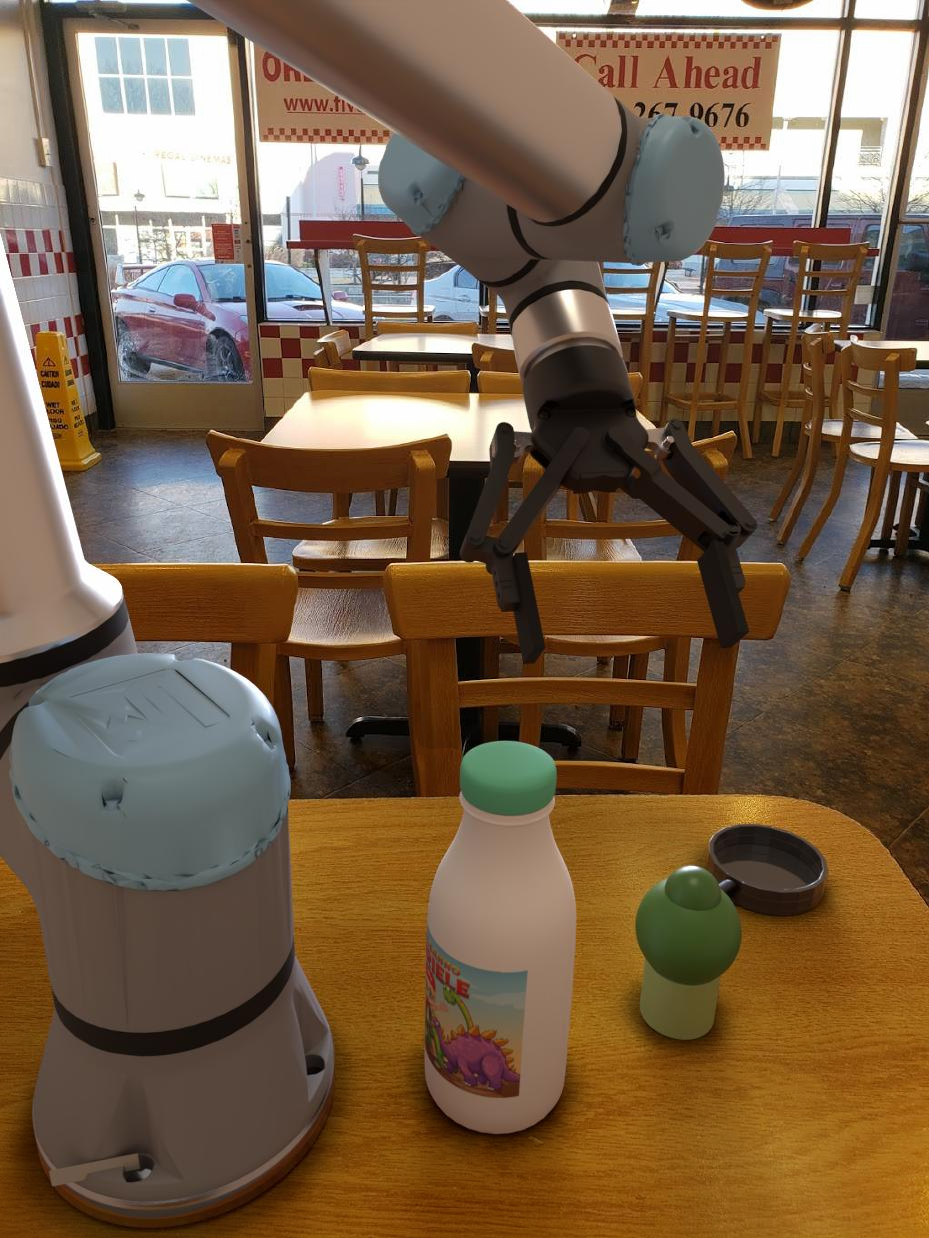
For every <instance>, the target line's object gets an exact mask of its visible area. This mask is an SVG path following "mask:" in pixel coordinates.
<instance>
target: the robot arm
mask: <svg viewBox="0 0 929 1238" xmlns="http://www.w3.org/2000/svg"><path fill="white" fill-rule="evenodd" d="M186 2H188V3H190V4H191V5H193V6H194V7H196V8H198V9H199V10H201V11H203V12H204V13H206V14H207V15H208V16H211V18H214V19H215V20H217V21H218V22H220V23H221V24H223V25H225V26H226V27H228V28H229V29H231V30H233V31H234V32H235V33H237V34H239V36H242V37H243V38H245V39H247V40H248V41H250V42H251V43H253V44H255V46H257V47H259V48H261V49H262V50H264V51H265V52H267V53H268V54H270V55H272V56H273V57H274V58H277V59H278V60H280V61H281V62H282V63H285V65H288V67H291V68H292V69H294V70H295V71H297V72H298V73H300V74H301V75H303V76H304V77H306V78H308V79H310V80H311V81H313V83H316V84H317V85H319V86H320V87H322V88H324V89H325V90H327V91H328V92H330V93H331V94H333V95H334V96H336V97H337V98H339V99H341V100H343V102H345V103H347V104H348V105H350V106H352V107H354V108H355V109H357V110H358V111H360V112H361V113H363V114H364V115H366V116H367V117H369V118H371V119H372V120H374V121H376V122H377V123H378V124H380V125H382V126H383V127H385V128H386V129H388V130H389V131H391V132H393V133H392V134H391V136H390V137H389V139H388V141H387V143H386V145H385V150H384V152H383V155H382V158H381V159H380V162H379V166H378V171H377V172H378V174H377V185H378V191H379V194H380V198H381V201H382V203H384V205H385V206H386V207H387V209H389V210H390V211H391V212H392V214H394V215H395V216H396V217H398V219H399V220H401V222H403V223H404V224H405V225H406V226H407V227H409V229H410V231H411V233H412V234H413V235H415V236H416V237H417V238H418V237H419V238H422V239H424V241H426V242H427V243H429V244H430V246H432V247H434V248H435V249H436V250H438V251H439V252H441V254H443V255H445V256H446V257H447V258H448V259H450V260H451V261H452V262H454V263H455V264H456V265H458V266H459V267H461V268H462V269H463V270H465V271H466V272H467V273H469V275H471V276H472V277H473V278H474V279H476V280H477V281H478V282H480V283H481V284H482V285H483V286H485V287H486V288H487V289H488V290H490V291H491V292H492V293H494V294H495V295H496V296H498V298H499V299H500V300H501V302H502V304H503V306H504V310H505V315H506V319H507V322H508V327H509V331H510V336H511V343H512V347H513V353H514V356H515V361H516V366H517V371H518V375H519V380H520V382H521V384H522V391H521V392H522V396H523V402H524V407H525V410H526V411H525V412H526V415H527V420H528V424H529V428H530V431H517V430H515V429H514V426H513V425H512V424H511V423H509V422H507V421H501V422H499V423H498V424H496V427H495V430H494V433H493V436H492V439H491V442H490V444H489V448H488V453H489V467H490V469H489V471H488V474H487V477H486V480H485V483H484V485H483V488H482V491H481V493H480V496H479V499H478V501H477V504H476V507H475V510H474V512H473V515H472V517H471V519H470V523H469V525H468V529H467V531H466V534H465V537H464V539H463V542H462V544H461V547H460V550H459V558H460V559H461V560H462V562H465V563H468V564H469V563H474V562H477V563H478V562H479V563H482V564H485V570H486V572H487V573H488V574H489V575H491V576H492V581H493V587H494V592H495V598H496V599H495V600H496V603H497V604H496V605H497V607H498V609H499V610H500V611H501V613H511V612H512V613H513V616H514V622H515V628H516V633H517V639H518V644H519V650H520V654H521V661H522V665H535V663H536V662H537V661H538V660H539V658H540V656H541V655H542V653H543V652H544V650H545V649H546V643H545V638H544V634H543V627H542V624H541V623H542V621H541V618H540V613H539V608H538V602H537V598H536V597H537V596H536V592H535V586H534V584H533V577H532V571H531V567H530V566H531V565H530V562H529V557H528V552H527V551H524V552H521V551H520V552H516V551H517V550H518V548H519V546H520V545H521V544H522V542H523V541H524V539H526V537H527V535H528V534H529V533H530V531H531V530H532V528H533V526H534V525H535V524H536V522H537V521H538V519H539V518H540V516H541V515H542V514H543V512H544V510H545V509H546V508H547V506H548V505H549V503H551V501H552V500H553V499H554V497H555V496H556V495H557V493H558V492H559V490H560V489H561V487H563V488H564V489H566V490H569V491H572V495H580V494H582V495H583V494H587V493H590V492H594V491H596V492H598V493H599V492H600V493H605V494H606V493H608V494H609V493H616V492H617V491H618V489H620V490H621V491H623V492H624V493H625V494H626V495H627V496H629V497H630V498H631V499H633V500H639V501H641V502H643V504H645V505H646V506H647V507H649V508H650V509H651V510H652V511H654V513H656V514H657V515H658V516H659V517H661V518H662V519H663V520H664V521H666V522H667V523H668V524H669V525H671V526H672V527H673V528H674V529H675V530H677V531H678V532H679V533H680V534H682V535H683V536H684V537H685V538H686V539H688V540H689V541H690V542H691V543H692V544H694V545H695V546H696V547H697V548H698V549H700V550H701V551H702V552H703V553H702V554H701V555H700V557H699V558H698V559H697V560H696V563H697V566H698V570H699V574H700V578H701V580H702V585H703V588H704V593H705V596H706V600H707V602H708V606H709V610H710V613H711V617H712V621H713V625H714V628H715V629H714V630H715V632H716V635H717V639H718V643H719V647H720V649H730V648H732V647H734V646H735V645H736V644H737V643H738V642H739V641H741V640H742V639H743V638H744V637H745V636H746V635H748V634H749V633H750V629H749V624H748V621H747V619H746V615H745V612H744V608H743V604H742V600H741V596H740V593H741V592H742V591H743V590H744V589H745V586H746V578H745V575H744V571H743V568H742V564H741V561H740V556H739V554H738V551H737V549H738V548H740V547H741V546H742V545H743V544H744V543H745V542H746V541H747V540H748V539H749V538H750V537H751V536H752V535H753V533H755V531H756V530H757V529H758V526H759V525H758V521H757V520H756V519H755V517H754V516H753V515H752V514H751V513H750V512H749V510H748V509H747V508H746V507H745V506H744V503H742V502H741V500H739V498H738V497H737V496H736V494H735V493H733V491H732V490H731V489H730V487H729V486H728V485H727V484H726V483H725V482H724V481H723V479H722V478H721V477H720V476H719V475H718V473H717V472H716V471H715V470H714V469H713V467H712V466H711V465H710V464H709V462H707V461H706V459H705V458H704V457H703V455H702V454H701V453H700V452H699V451H698V449H697V448H696V447H695V446H694V445H693V443H692V441H691V438H690V436H689V433H688V431H687V428H686V426H685V424H684V422H683V421H682V420H681V419H678V418H670V419H669V421H668V422H667V423H666V425H665V426H663V427H657V428H649V429H647V428H645V426H644V425H643V424H642V423H641V422H640V420H639V418H638V416H637V408H636V401H635V396H634V395H635V394H634V391H633V388H632V384H631V380H630V377H629V373H628V368H627V365H626V362H625V360H624V358H623V357H624V354H623V350H622V344H621V341H620V338H619V334H618V331H617V328H616V323H615V320H614V316H613V313H612V309H611V306H610V302H609V299H608V296H607V292H606V291H607V290H606V286H605V284H604V279H603V275H602V271H601V267H600V263H616V264H631V265H632V266H636V267H641V266H644V265H645V264H646V263H647V264H648V263H675V262H681V261H684V260H686V259H689V258H690V257H692V256H694V255H695V254H696V253H697V252H699V251H700V250H702V248H703V247H704V245H705V244H706V242H707V241H708V240H709V239H710V237H711V235H712V233H713V231H714V230H715V227H716V224H717V223H718V215H719V213H720V208H721V206H722V204H723V200H724V195H725V194H724V193H725V182H726V181H725V163H724V158H723V153H722V150H721V146H720V143H719V141H718V139H717V136H716V134H715V132H713V130H712V129H711V128H710V126H709V125H708V124H707V123H705V122H704V121H703V120H701V119H700V118H696V117H693V116H684V115H683V116H679V115H677V116H676V115H675V116H673V115H672V116H670V115H669V114H667V113H658V114H655V115H654V116H653V117H649V118H648V117H642V116H639V115H637V114H635V112H633V111H632V110H631V109H630V108H629V107H627V105H625V103H623V102H621V100H619V99H618V98H616V97H615V96H614V94H612V93H611V92H610V91H609V90H608V89H607V88H606V87H605V86H604V85H602V84H601V82H600V81H598V80H597V79H596V78H595V77H593V76H592V75H591V74H590V73H589V72H588V71H587V70H586V69H584V67H582V66H581V65H580V64H579V63H578V62H577V61H576V60H574V59H573V58H572V57H571V55H569V54H568V53H567V52H565V50H564V49H563V48H561V46H559V45H558V44H557V43H556V42H555V41H553V40H552V39H551V38H550V37H549V36H548V35H547V34H546V33H545V32H544V31H543V30H541V28H539V27H538V26H537V25H536V24H535V23H534V22H532V21H531V20H530V18H528V17H527V16H526V15H525V14H523V12H522V11H520V10H519V9H518V8H517V7H516V6H515V5H514V4H512V3H511V2H510V1H509V0H186ZM15 289H16V288H15V286H14V281H13V279H12V274H11V271H10V266H9V262H8V258H7V255H6V251H5V247H4V243H3V239H2V236H1V234H0V858H1V859H2V860H3V862H4V863H5V864H6V865H7V866H8V868H9V869H10V870H11V872H13V873H14V875H15V876H16V877H17V879H18V880H19V881H20V882H21V883H22V885H23V886H24V887H25V888H26V890H27V891H28V894H29V895H30V896H31V897H30V898H31V900H32V902H33V904H34V907H35V910H36V914H37V916H38V920H39V926H40V931H41V932H40V933H41V937H42V944H43V947H44V954H45V959H46V966H47V972H48V977H49V983H50V988H51V993H52V999H53V1007H54V1009H53V1012H52V1016H51V1021H50V1024H49V1028H48V1032H47V1037H46V1041H45V1045H44V1050H43V1053H42V1057H41V1062H40V1066H39V1070H38V1074H37V1078H36V1083H35V1086H34V1094H33V1097H32V1106H31V1107H32V1109H31V1110H32V1111H31V1117H32V1128H33V1133H34V1138H35V1143H36V1149H37V1153H38V1157H39V1161H40V1164H41V1166H42V1169H43V1172H44V1174H45V1176H46V1178H47V1179H48V1181H49V1183H50V1184H51V1187H53V1188H54V1190H56V1192H57V1193H58V1194H59V1195H60V1196H61V1197H62V1198H63V1199H64V1200H65V1201H66V1202H67V1203H69V1204H70V1205H72V1206H73V1207H75V1208H76V1209H77V1210H79V1211H81V1212H82V1213H84V1214H86V1215H88V1216H89V1217H92V1218H95V1219H98V1220H100V1221H103V1222H106V1223H110V1224H115V1225H118V1226H123V1227H125V1226H126V1227H129V1228H130V1227H131V1228H146V1229H154V1228H171V1227H178V1226H183V1225H189V1224H193V1223H197V1222H201V1221H205V1220H208V1219H211V1218H214V1217H217V1216H220V1215H222V1214H225V1213H227V1212H229V1211H232V1210H234V1209H236V1208H238V1207H240V1206H242V1205H244V1204H246V1203H247V1202H251V1200H253V1199H254V1198H256V1197H258V1196H259V1195H261V1194H263V1193H264V1192H266V1191H267V1190H269V1189H270V1188H271V1187H272V1186H274V1185H275V1184H276V1183H278V1182H279V1181H280V1180H281V1179H282V1178H283V1177H285V1176H286V1175H287V1174H288V1173H289V1172H290V1171H291V1170H292V1169H294V1168H295V1166H296V1165H297V1164H298V1163H299V1162H300V1161H301V1160H302V1159H303V1157H304V1156H305V1155H306V1154H307V1152H308V1151H309V1150H310V1149H311V1147H312V1146H313V1144H314V1143H315V1141H316V1140H317V1138H318V1136H319V1135H320V1133H321V1131H322V1130H323V1127H325V1126H324V1125H325V1123H326V1121H327V1118H328V1117H329V1114H330V1111H331V1107H332V1104H333V1099H334V1094H335V1091H336V1090H335V1089H336V1088H335V1087H336V1063H335V1062H336V1061H335V1059H336V1058H335V1056H336V1055H335V1043H334V1038H333V1033H332V1030H331V1027H330V1024H329V1022H328V1020H327V1017H326V1015H325V1013H324V1011H323V1009H322V1007H321V1003H319V1000H318V998H317V996H316V994H315V992H314V990H313V988H312V986H311V983H310V982H309V979H308V978H307V976H306V974H305V972H304V970H303V968H302V965H301V964H300V962H299V960H298V958H297V955H296V947H295V925H294V924H295V923H294V922H295V921H294V906H293V905H294V904H293V881H292V880H293V879H292V863H291V862H292V860H291V840H290V839H291V838H290V820H289V819H290V818H289V802H290V797H291V789H292V786H291V785H292V784H291V783H292V782H291V777H290V769H289V765H288V763H287V755H286V751H285V748H284V742H283V735H282V730H281V725H280V722H279V718H278V715H277V714H276V711H275V709H274V707H273V705H272V704H271V703H270V701H269V699H268V698H267V697H266V695H265V694H264V693H263V692H262V691H261V690H260V689H259V688H258V687H257V686H256V685H255V684H254V683H252V681H250V680H249V679H248V678H246V677H245V676H243V675H241V674H239V673H238V672H237V671H234V670H233V669H231V668H229V667H227V666H224V665H222V664H219V663H216V662H212V661H210V660H206V659H203V658H198V657H193V658H190V659H189V660H181V661H180V660H178V657H177V656H176V655H175V654H172V653H149V652H147V653H145V652H144V653H139V652H138V648H137V643H136V640H135V639H136V638H135V635H134V632H133V628H132V623H131V619H130V616H129V610H128V608H127V604H126V599H125V595H124V591H123V587H122V585H121V583H120V582H119V580H118V579H117V578H115V577H114V576H113V575H111V574H109V573H107V572H106V571H103V570H102V569H100V568H97V567H96V566H93V565H92V564H90V563H89V562H87V560H85V557H84V553H83V550H82V544H81V541H80V537H79V533H78V529H77V525H76V522H75V517H74V513H73V510H72V507H71V502H70V498H69V494H68V490H67V487H66V482H65V479H64V475H63V471H62V467H61V464H60V460H59V457H58V452H57V447H56V445H55V441H54V436H53V433H52V429H51V425H50V421H49V417H48V414H47V410H46V406H45V401H44V398H43V394H42V390H41V387H40V383H39V379H38V375H37V370H36V367H35V363H34V359H33V356H32V352H31V348H30V344H29V340H28V336H27V331H26V328H25V324H24V321H23V317H22V312H21V309H20V305H19V301H18V298H17V297H18V296H17V294H16V290H15ZM646 450H649V451H651V452H652V453H653V454H654V456H653V455H652V454H650V453H649V452H648V451H646ZM526 453H529V456H531V458H532V459H533V460H534V461H535V462H536V463H538V465H540V467H542V469H544V472H543V473H542V475H541V477H540V478H539V479H538V480H537V482H536V483H535V485H534V486H533V488H532V489H531V491H530V492H529V493H528V495H527V496H526V497H525V499H524V500H523V501H522V503H521V505H520V506H519V507H518V509H517V510H516V512H515V513H514V514H513V516H512V517H511V518H510V520H509V521H508V523H507V524H506V526H505V527H504V528H503V530H502V531H501V532H500V534H499V535H498V537H493V536H490V535H487V534H488V531H489V528H490V526H491V523H492V520H493V518H494V514H495V512H496V510H497V506H498V503H499V501H500V499H501V495H502V493H503V489H504V487H505V484H506V482H507V479H508V476H509V474H510V470H511V467H512V466H514V465H516V464H519V463H520V462H521V460H522V457H523V455H524V454H526ZM660 462H662V464H663V466H664V468H665V470H666V471H667V472H668V474H667V473H666V472H665V471H663V468H662V464H661V463H660ZM635 469H637V470H638V471H639V472H640V474H639V476H638V477H636V476H635V475H633V473H634V471H635Z"/></svg>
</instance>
